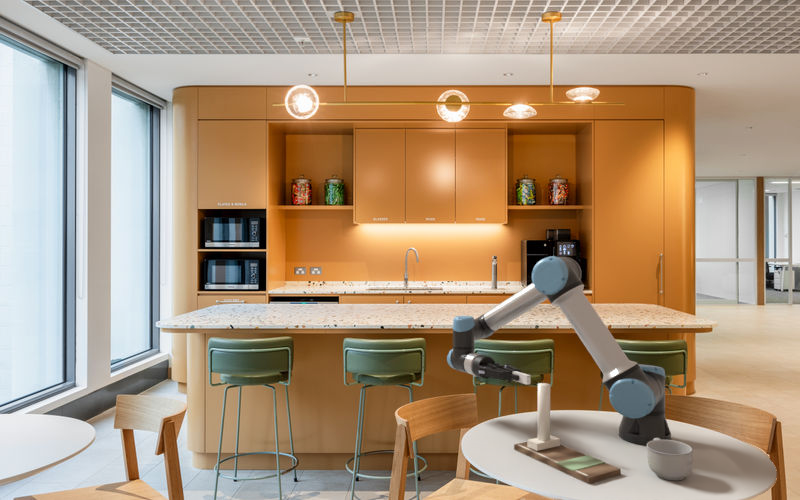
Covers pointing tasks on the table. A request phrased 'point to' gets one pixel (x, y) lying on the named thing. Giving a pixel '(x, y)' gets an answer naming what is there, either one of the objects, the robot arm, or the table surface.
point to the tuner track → (571, 462)
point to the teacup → (669, 458)
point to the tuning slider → (543, 422)
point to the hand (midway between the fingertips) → (528, 379)
